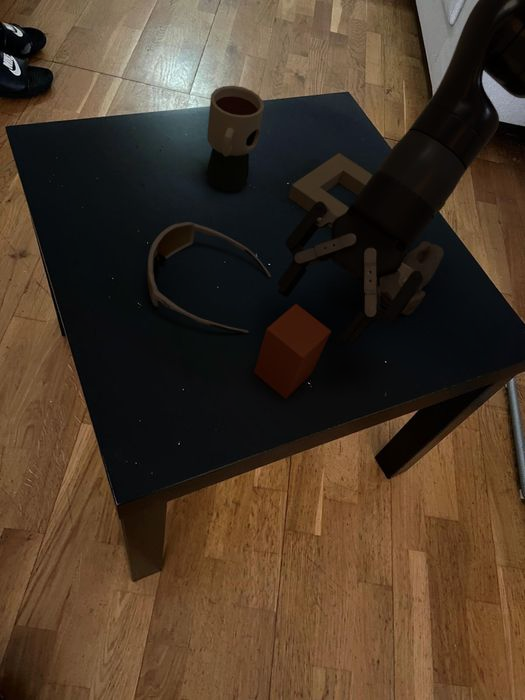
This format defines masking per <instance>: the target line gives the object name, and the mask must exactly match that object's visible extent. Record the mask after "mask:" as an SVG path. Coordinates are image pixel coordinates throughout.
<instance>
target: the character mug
mask: <svg viewBox="0 0 525 700" xmlns="http://www.w3.org/2000/svg"><path fill="white" fill-rule="evenodd" d="M264 109H265V104H264V100H263V99H262V98H261V97H260V95H259V94H257V93H256V92H254V91H253V90H251V89H248V88H246V87H243V86H237V85H224V86H220V87H218V88H216V89H214V90H213V92H211V94H210V102H209V113H208V124H207V135H206V137H207V138H206V139H207V142H208V144H209V146H210V147H211V151H210V156H209V160H208V163H207V167H206V173H205V176H206V179H207V181H208V182H209V183H210V184H211V185H213V186H214V187H216V188H219V189H221V190H224V191H229V192H236V191H241V190H242V189H244V188H245V187H246V186H247V183H248V182H247V181H248V179H249V169H250V160H249V159H250V157H249V155H250V153H252V152H254V151H255V150H256V148H257V146H258V143H259V142H258V141H259V138H260V133H261V126H262V121H263V115H264Z"/></svg>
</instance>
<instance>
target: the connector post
mask: <svg viewBox="0 0 525 700" xmlns="http://www.w3.org/2000/svg"><path fill="white" fill-rule="evenodd" d="M331 333H332V330H331V329H330V328H329V327H327V326H326V325H324V324H323V323H322V322H320V321H319V320H318V319H316V318H315V317H314V316H312V314H310V313H309V312H307V311H306V310H305V309H304V308H303V307H301V306H300V305H299V304H298V303H294V304H293V305H292V306H291V307H290V308H288V310H286V311H285V312H284V313H283V314H282V315H281V316H279V317H278V318H277V319H276V320H275V321H273V322H272V324H270V325H269V326H268V327H267V328H266V330H265V333H264V336H263V339H262V340H263V341H262V344H261V347H260V350H259V353H258V356H257V360H256V363H255V367H254V370H253V373H254V374H255V375H256V376H258V377H259V379H261V380H262V381H264V383H266V384H267V386H269V387H270V388H271V389H273V390H274V391H275V392H276V393H278V394H279V395H280V396H281V397H282V398H283V399H286V400H287V399H288V398H289V396H291V395H292V394H293V392H295V391H296V390H297V388H299V387H300V386H301V385H302V384H303V383H304V382H305V381H306V380H307V379H308V378H309V377H310V376H311V375H312V373H313V372H314V369H315V367H316V366H317V363H318V361H319V359H320V357H321V354H322V352H323V350H324V349H325V346H326V343H327V342H328V339H329V337H330V335H331Z"/></svg>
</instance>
